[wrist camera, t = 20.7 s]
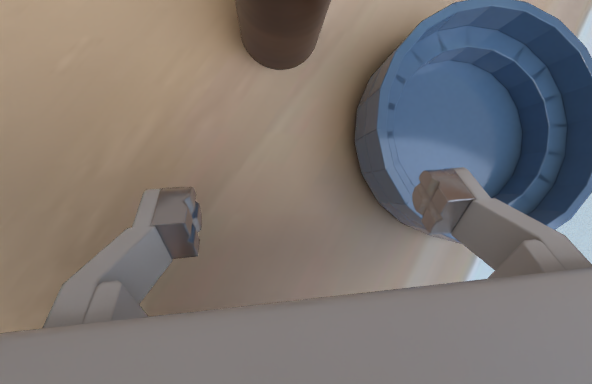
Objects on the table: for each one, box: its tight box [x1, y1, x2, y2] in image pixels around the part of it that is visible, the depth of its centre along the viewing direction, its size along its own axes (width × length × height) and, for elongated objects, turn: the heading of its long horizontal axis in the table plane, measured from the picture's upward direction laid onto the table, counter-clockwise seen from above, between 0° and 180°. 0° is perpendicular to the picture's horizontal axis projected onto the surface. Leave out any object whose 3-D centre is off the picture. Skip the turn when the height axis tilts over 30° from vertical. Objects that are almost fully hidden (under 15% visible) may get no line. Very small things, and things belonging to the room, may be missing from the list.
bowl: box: [355, 0, 592, 244], centre depth 21 cm, size 15×15×5 cm
